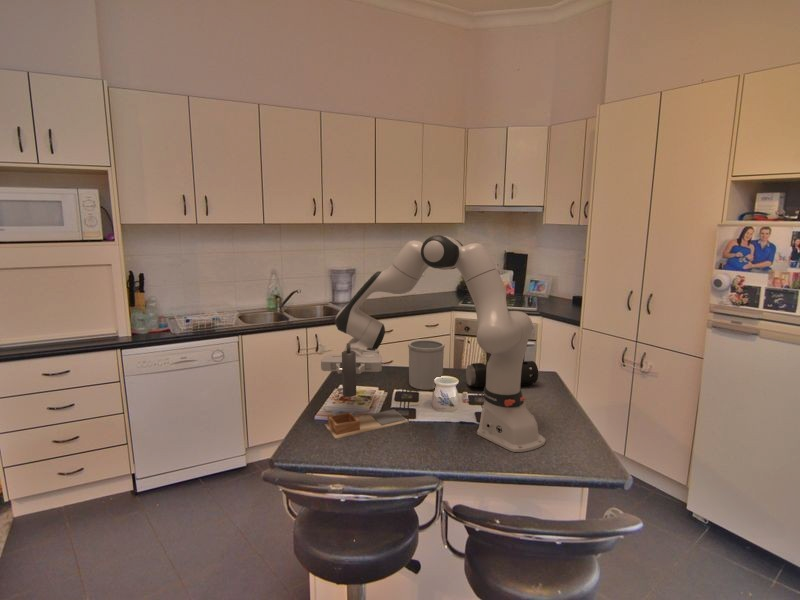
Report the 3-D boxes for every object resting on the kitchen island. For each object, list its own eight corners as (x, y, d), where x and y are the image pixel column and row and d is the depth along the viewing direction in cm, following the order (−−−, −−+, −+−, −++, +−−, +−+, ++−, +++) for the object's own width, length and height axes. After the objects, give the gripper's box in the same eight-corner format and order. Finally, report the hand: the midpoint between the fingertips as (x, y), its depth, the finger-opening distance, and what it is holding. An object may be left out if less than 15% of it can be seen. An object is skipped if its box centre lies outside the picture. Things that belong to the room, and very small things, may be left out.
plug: (358, 395, 151) (357, 344, 147) (345, 397, 149) (344, 346, 145) (353, 390, 155) (352, 340, 151) (340, 393, 153) (339, 342, 149)
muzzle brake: (537, 388, 191) (539, 364, 189) (471, 392, 187) (472, 368, 185) (527, 380, 200) (529, 357, 198) (464, 384, 196) (465, 360, 194)
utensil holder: (408, 377, 203) (408, 338, 200) (442, 377, 202) (443, 338, 199) (406, 390, 189) (407, 348, 185) (444, 391, 188) (445, 349, 184)
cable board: (408, 425, 158) (409, 413, 157) (335, 443, 146) (335, 429, 145) (394, 413, 168) (394, 401, 167) (324, 428, 156) (323, 415, 155)
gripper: (324, 348, 163) (316, 361, 149) (383, 349, 162) (380, 362, 148) (324, 366, 164) (316, 380, 150) (383, 366, 163) (380, 381, 150)
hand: (348, 371), depth 149 cm, fingers closed on plug, 4 cm apart
